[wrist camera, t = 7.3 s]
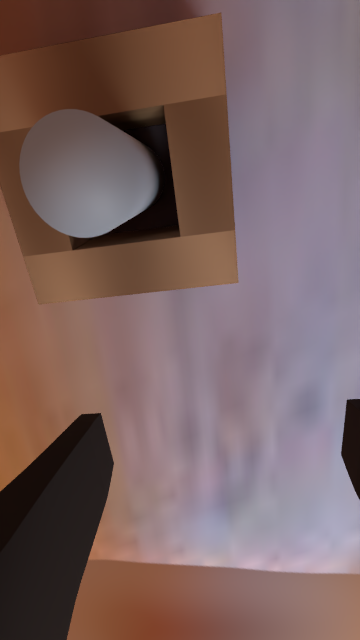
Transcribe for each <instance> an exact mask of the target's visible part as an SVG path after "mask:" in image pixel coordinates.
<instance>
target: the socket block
mask: <svg viewBox="0 0 360 640" xmlns="http://www.w3.org/2000/svg"><path fill="white" fill-rule="evenodd" d="M64 109H77V110H83V111H86V112H89V113H92V114H94V115H96V116H98V117H100V118H102V119H103V120H105V121H107V122H108V123H110V124H112V125H113V126H115V127H117V128H118V129H120V130H128V129H134V128H140V127H147V126H153V125H159V124H165V123H166V128H167V136H168V143H169V151H170V159H171V167H172V174H173V182H174V190H175V198H176V206H177V213H178V221H179V225H174V226H166V227H158V228H151V229H143V230H135V231H127V232H120V233H112V234H104V235H100V236H96V237H90V238H79V237H73V236H70V235H66V234H64V233H62V232H59V231H58V230H56V229H54V228H52V227H51V226H50V225H48V224H47V223H46V222H45V221H44V220H43V219H42V218H41V217H40V216H39V215H38V214H37V213H36V212H35V210H34V209H33V207H32V206H31V204H30V203H29V201H28V199H27V197H26V195H25V192H24V190H23V186H22V183H21V178H20V168H19V162H20V153H21V148H22V145H23V142H24V140H25V138H26V136H27V134H28V132H29V131H30V129H31V128H32V127H33V126H34V125H35V124H36V123H37V122H38V121H39V120H40V119H41V118H43V117H44V116H46V115H48V114H50V113H52V112H55V111H58V110H64ZM0 186H1V189H2V192H3V195H4V198H5V202H6V205H7V208H8V211H9V214H10V217H11V220H12V223H13V226H14V229H15V233H16V236H17V239H18V242H19V245H20V248H21V251H22V254H23V257H24V261H25V264H26V267H27V270H28V273H29V276H30V279H31V282H32V285H33V289H34V292H35V295H36V298H37V301H38V304H47V303H57V302H66V301H75V300H84V299H93V298H103V297H112V296H121V295H130V294H140V293H149V292H158V291H167V290H176V289H186V288H195V287H204V286H213V285H222V284H232V283H238V269H237V253H236V238H235V222H234V206H233V191H232V175H231V159H230V143H229V128H228V112H227V96H226V80H225V65H224V49H223V33H222V18H221V13H217V14H212V15H207V16H201V17H196V18H191V19H186V20H181V21H176V22H171V23H165V24H160V25H155V26H150V27H145V28H140V29H134V30H129V31H124V32H119V33H114V34H109V35H103V36H98V37H93V38H88V39H83V40H78V41H72V42H67V43H62V44H57V45H52V46H47V47H42V48H36V49H31V50H26V51H21V52H16V53H11V54H5V55H0Z"/></svg>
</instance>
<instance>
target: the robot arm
mask: <svg viewBox="0 0 360 640" xmlns="http://www.w3.org/2000/svg"><path fill="white" fill-rule="evenodd" d="M341 455H342V458H343V461H344V463H345V466H346V469H347V472H348V474H349V477H350V479H351V482H352V484H353V487H354V489H355V492H356V494H357V496H358V497H359V499H360V399H350V400H347V404H346V414H345V423H344V433H343V442H342V451H341ZM113 465H114V462H113V458H112V454H111V451H110V447H109V443H108V439H107V435H106V431H105V428H104V424H103V420H102V416H101V413H96V414H81V415H80V416H79V417H78V418H77V419H76V420H75V421H74V422H73V423H72V424H71V425H70V426H69V427H68V428H67V429H66V430H65V431H64V432H63V433H62V434H61V435H60V436H59V437H58V438H57V439H56V440H55V441H54V442H53V443H52V444H51V445H50V446H49V447H48V448H47V449H46V450H45V451H44V452H43V453H42V454H41V455H40V456H38V457H37V458H36V459H35V460H34V461H33V462H32V463H31V464H30V465H29V466H28V467H27V468H26V469H25V470H24V471H23V472H22V473H20V474H19V475H18V476H17V477H16V478H15V479H14V480H13V481H12V482H10V483H9V484H8V485H7V486H6V487H5V488H4V489H3V490H2V491H1V492H0V640H67V635H68V631H69V626H70V622H71V618H72V613H73V609H74V605H75V600H76V597H77V594H78V590H79V586H80V583H81V579H82V576H83V573H84V570H85V567H86V564H87V561H88V557H89V554H90V551H91V548H92V545H93V542H94V539H95V535H96V532H97V529H98V526H99V523H100V520H101V516H102V513H103V510H104V507H105V503H106V500H107V497H108V492H109V487H110V482H111V476H112V471H113Z"/></svg>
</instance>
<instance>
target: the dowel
mask: <svg viewBox="0 0 360 640" xmlns="http://www.w3.org/2000/svg"><path fill="white" fill-rule="evenodd" d="M19 168H20V178H21V183H22V186H23V190H24V192H25V195H26V197H27V199H28V201H29V203H30V204H31V206H32V207H33V209H34V210H35V212H36V213H37V214H38V215H39V216H40V217H41V218H42V219H43V220H44V221H45V222H46V223H47V224H48V225H50V226H51V227H52V228H54V229H56V230H58V231H59V232H62V233H64V234H66V235H70V236H73V237H79V238H90V237H96V236H100V235H103V234H105V233H107V232H109V231H111V230H113V229H114V228H116V227H118V226H119V225H121V224H123V223H124V222H126V221H128V220H129V219H131V218H133V217H134V216H136V215H138V214H139V213H141V212H143V211H144V210H146V209H148V208H149V207H151V206H152V205H154V204H155V203H156V202H157V200H158V199H159V198H160V196H161V194H162V191H163V188H164V184H165V173H164V168H163V165H162V163H161V161H160V159H159V157H158V156H157V154H156V153H155V152H154V151H153V150H152V149H151V148H150V147H148V146H147V145H145V144H143V143H142V142H140V141H138V140H137V139H135V138H133V137H132V136H130V135H128V134H127V133H125V132H123V131H122V130H120V129H118V128H117V127H115V126H113V125H112V124H110V123H108V122H107V121H105V120H103V119H102V118H100V117H98V116H96V115H94V114H92V113H89V112H86V111H83V110H77V109H64V110H58V111H55V112H52V113H50V114H48V115H46V116H44V117H43V118H41V119H40V120H39V121H38V122H37V123H36V124H35V125H34V126H33V127H32V128H31V129H30V131H29V132H28V134H27V136H26V138H25V140H24V142H23V145H22V148H21V153H20V162H19Z"/></svg>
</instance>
